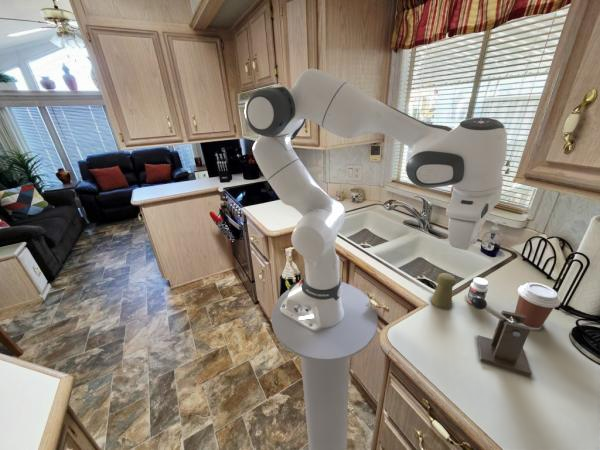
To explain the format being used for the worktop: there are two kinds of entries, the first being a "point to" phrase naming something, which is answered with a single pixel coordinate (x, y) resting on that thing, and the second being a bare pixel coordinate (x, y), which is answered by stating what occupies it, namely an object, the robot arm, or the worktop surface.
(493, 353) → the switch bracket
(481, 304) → the lever
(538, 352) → the worktop surface
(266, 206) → the worktop surface
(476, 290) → the pill bottle
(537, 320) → the coffee cup
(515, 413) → the worktop surface
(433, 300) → the olive tapered figurine
